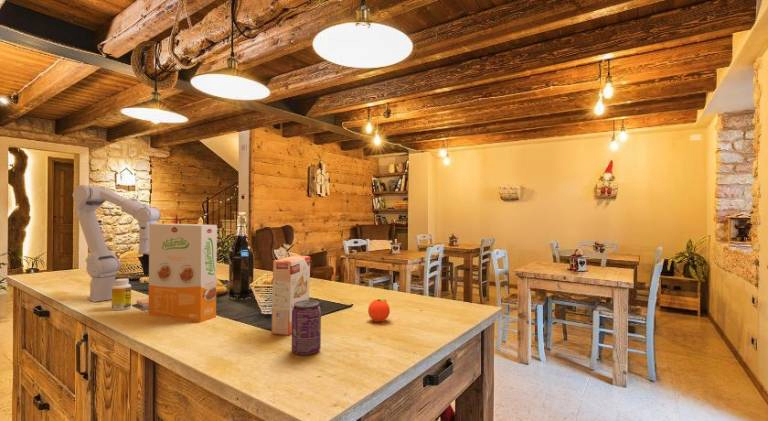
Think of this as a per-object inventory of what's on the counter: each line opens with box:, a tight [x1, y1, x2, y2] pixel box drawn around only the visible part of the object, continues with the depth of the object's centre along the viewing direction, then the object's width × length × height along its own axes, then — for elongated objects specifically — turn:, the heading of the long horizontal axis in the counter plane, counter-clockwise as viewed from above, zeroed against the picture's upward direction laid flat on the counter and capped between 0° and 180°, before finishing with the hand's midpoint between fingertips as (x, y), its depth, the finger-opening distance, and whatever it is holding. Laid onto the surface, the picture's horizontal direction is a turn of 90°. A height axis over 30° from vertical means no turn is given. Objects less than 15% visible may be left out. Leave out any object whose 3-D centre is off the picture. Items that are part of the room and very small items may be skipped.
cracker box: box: [271, 255, 311, 336], centre depth 112 cm, size 14×6×21 cm, turn 168°
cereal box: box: [148, 223, 218, 323], centre depth 123 cm, size 22×6×30 cm, turn 69°
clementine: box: [367, 298, 391, 323], centre depth 120 cm, size 8×7×7 cm
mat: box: [131, 303, 149, 311], centre depth 136 cm, size 11×9×1 cm
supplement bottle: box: [111, 278, 132, 311], centre depth 131 cm, size 6×6×10 cm
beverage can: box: [291, 299, 322, 356], centre depth 94 cm, size 7×7×12 cm
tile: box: [136, 298, 149, 308], centre depth 136 cm, size 2×6×6 cm
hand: (147, 274), depth 143 cm, fingers closed
